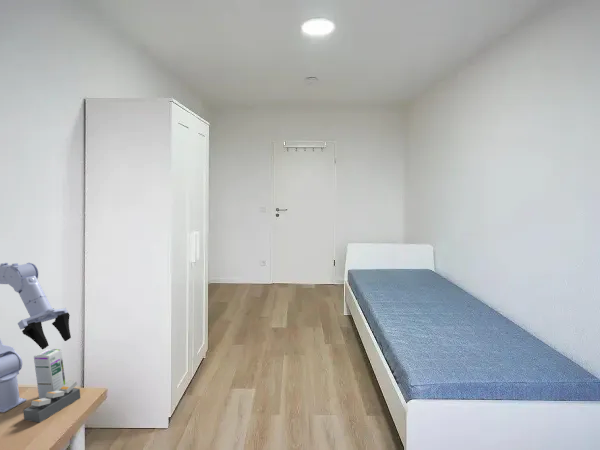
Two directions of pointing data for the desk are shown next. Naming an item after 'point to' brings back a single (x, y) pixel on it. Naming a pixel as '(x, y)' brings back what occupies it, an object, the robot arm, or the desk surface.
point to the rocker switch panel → (51, 406)
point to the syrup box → (49, 371)
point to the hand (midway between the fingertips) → (57, 343)
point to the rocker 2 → (55, 394)
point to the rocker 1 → (40, 402)
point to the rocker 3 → (68, 386)
